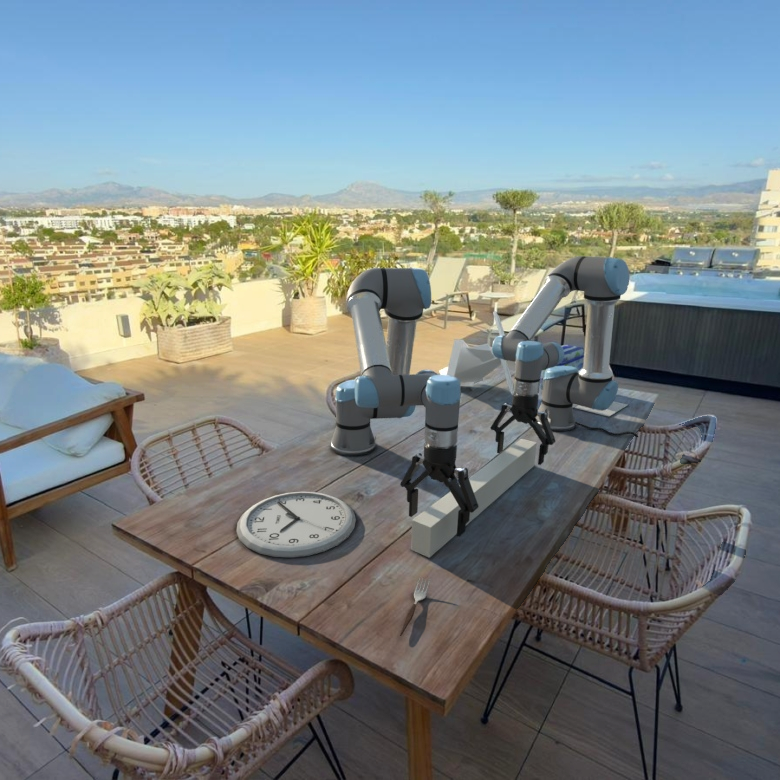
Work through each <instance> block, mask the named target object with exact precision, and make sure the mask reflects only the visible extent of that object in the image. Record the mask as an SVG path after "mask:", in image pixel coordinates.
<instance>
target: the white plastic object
mask: <svg viewBox="0 0 780 780" xmlns="http://www.w3.org/2000/svg"><path fill="white" fill-rule="evenodd" d="M492 315H493V319H494V321H495V324H496V325H495V326H496V328H497V332H498V336H503V335H504V336H506V334H505V331H504V328H503V325H502V321H501V318H500V315H499V314H498V312H497V311H496V310H495V311H492ZM508 362H509V360H503V359H500V358H497V357H495V356H494V355H493V352H492V346H490V344H489V343H488V342H487V343H483V344H479V345H473V346H469V345H468V343H466V342H465V340H464V339H463V338H460V339H458V338H454V340H453V344H452V349H451V353H450V357H449V362H448V366H446V367H444V368H442V369H440V370H439V371H438V372H439V375H449V376H452V377H456V378H457V379H458V380H459V381H460V384H467V383H468V384H469V383H473V384H477V383H480V382H482V381H484V378H485V377H486V376H487V375H489V374H490V373H492V372H494V371H495V370H496V369H497V368H499V367H500V366H502V370H503V373H504V376H505V380H506V383H507V386H508V390H509V393H510V394H511V395H512V396H513V393H514V390H513V388H514V380H513V378H512V375H511V371H510V369H509V365H508ZM513 363H514V366H515V365H516V362H513Z"/></svg>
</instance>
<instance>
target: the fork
mask: <svg viewBox="0 0 780 780" xmlns="http://www.w3.org/2000/svg"><path fill="white" fill-rule="evenodd" d="M420 580H421V577H419V578H418V581H417V585H416V587H415V590H414V592H413V598H414V600H415V601H414V603H413V604H412V606H411V607H410V609H409V611H408V612H407V613H406V616H405V619H404V622H403V624H402V625H403V626H402V628H401V631H400V634H399V636H400V637H402V635H403V634H404V632H405V631H406V629H407V627H408V626H409V624H410V622H411V621H412V619H413V617H414V614H415V610H416V607H417V604H418V602H420V601H423V600H425V599H426V598H427V596H428V591H429V586H430V582H431V581H430V580H431V579H428V583H427V578H426V579H425V580H424V578H422V580H421V583H420ZM423 582H424V584H423ZM426 583H427V586H426ZM419 584H420V585H419ZM422 587H423V588H422Z"/></svg>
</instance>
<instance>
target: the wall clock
mask: <svg viewBox="0 0 780 780" xmlns="http://www.w3.org/2000/svg"><path fill="white" fill-rule="evenodd" d="M356 522H357V518H356V515H355V512H354V510H353V509H352V508H351V507H350V505H349V504H348V503H346V502H345V501H343V500H341V499H339V497H335V496H332V495H329V494H327V493H321V492H315V491H293V492H285V493H280V494H275V495H273V496H270V497H268V498H264V499H262V500H260V501H259V502H257V503H255V504H253V505H251V506H250V507H249V508H247V510H246V511H245V512H244V513H242V514H241V516H240V518H239V519H238V521H237V523H236V535H237V537H238V540H239V541H240V542H241V544H242V545H244V546H245V547H246V548H248V549H249V550H251V551H253V552H255V553H257V554H261V555H265V556H269V557H273V558H300V557H309V556H312V555H316V554H320V553H323V552H327V551H328V550H331V549H333V548H335V547H337V546H339V545H340V544H342V543H343V542H344V541H345V540H347V539H348V538H349V537H350V536H351V534H352V533H353V531H354V530H355V526H356Z"/></svg>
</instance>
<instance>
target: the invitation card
mask: <svg viewBox="0 0 780 780" xmlns="http://www.w3.org/2000/svg"><path fill="white" fill-rule="evenodd" d="M628 406H629V404H627V403H623V402H618V401H615V400H614V401H613V403H612V404H611V406H610V407H609V408H608V409H606V410H603V411H601V410H596V409H592V408H588V407H584V406H580V405H575V406H574V407H573V409H575V410H581V411H584V412H587V413H593V414H596V415H600V416H604V417H608V418H609V417H611V416H613V415H614V414H616V413H617V412H619V411H621V410H623V409H624V408H626V407H628Z"/></svg>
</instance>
